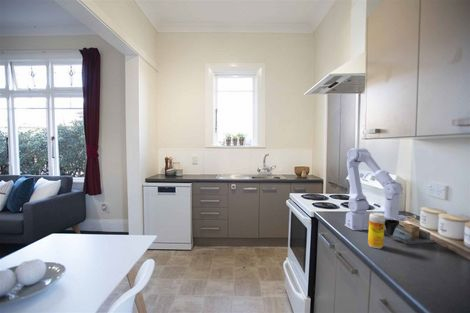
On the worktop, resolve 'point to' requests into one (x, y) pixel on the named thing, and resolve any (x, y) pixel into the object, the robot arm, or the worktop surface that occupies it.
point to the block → (412, 230)
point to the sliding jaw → (401, 234)
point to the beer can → (376, 230)
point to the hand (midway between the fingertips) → (389, 234)
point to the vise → (416, 238)
